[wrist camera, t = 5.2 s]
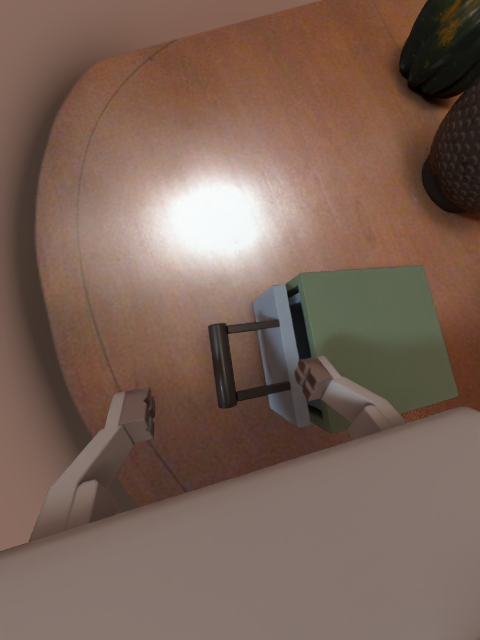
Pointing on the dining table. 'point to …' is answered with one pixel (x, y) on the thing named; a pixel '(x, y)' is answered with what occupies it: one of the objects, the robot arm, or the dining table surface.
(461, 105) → the planter
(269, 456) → the dining table surface
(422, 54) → the squash
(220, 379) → the cabinet drawer
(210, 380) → the dining table surface
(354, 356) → the green drawer cabinet
